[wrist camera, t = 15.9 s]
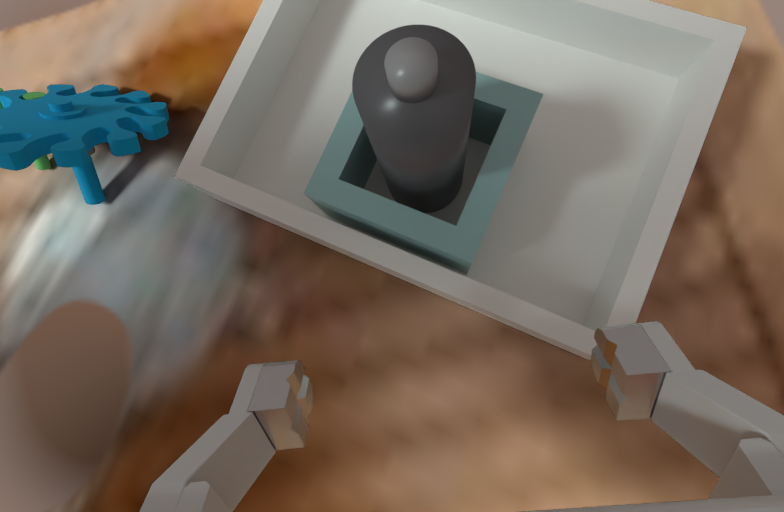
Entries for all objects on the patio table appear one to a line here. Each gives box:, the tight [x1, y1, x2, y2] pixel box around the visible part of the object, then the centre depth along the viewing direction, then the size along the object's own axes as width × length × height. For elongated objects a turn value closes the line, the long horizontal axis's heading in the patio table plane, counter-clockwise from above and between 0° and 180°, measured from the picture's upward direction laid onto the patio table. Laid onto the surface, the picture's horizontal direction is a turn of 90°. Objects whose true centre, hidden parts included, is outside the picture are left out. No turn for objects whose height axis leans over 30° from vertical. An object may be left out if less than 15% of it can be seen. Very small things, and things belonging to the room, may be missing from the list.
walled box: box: [175, 0, 747, 360], centre depth 21 cm, size 22×16×5 cm
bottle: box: [352, 25, 476, 213], centre depth 18 cm, size 4×4×10 cm
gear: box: [0, 84, 169, 205], centre depth 24 cm, size 11×6×10 cm
